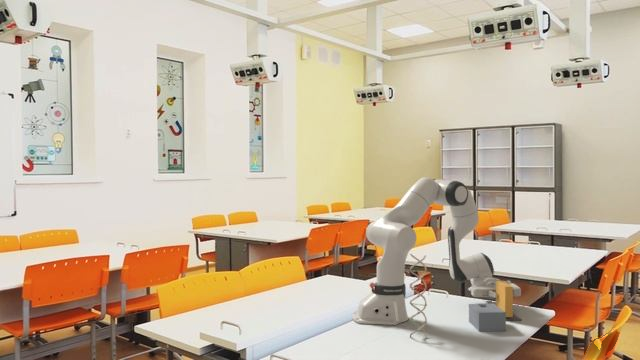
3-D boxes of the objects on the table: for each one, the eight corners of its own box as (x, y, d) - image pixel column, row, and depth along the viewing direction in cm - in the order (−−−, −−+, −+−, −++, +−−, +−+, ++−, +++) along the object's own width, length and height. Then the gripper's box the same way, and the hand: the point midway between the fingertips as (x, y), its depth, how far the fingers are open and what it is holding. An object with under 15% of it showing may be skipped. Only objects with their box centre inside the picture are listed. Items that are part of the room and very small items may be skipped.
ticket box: (479, 331, 192) (479, 312, 192) (468, 321, 204) (468, 303, 204) (505, 330, 192) (505, 312, 192) (493, 320, 205) (493, 303, 204)
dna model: (406, 339, 184) (406, 255, 183) (412, 333, 190) (411, 252, 189) (424, 342, 181) (424, 256, 180) (429, 336, 186) (429, 253, 186)
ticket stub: (505, 316, 204) (505, 286, 204) (495, 309, 214) (495, 280, 214) (512, 316, 204) (512, 286, 204) (502, 309, 214) (503, 280, 214)
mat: (496, 321, 204) (496, 320, 204) (487, 313, 214) (487, 312, 214) (521, 320, 204) (521, 319, 204) (511, 313, 214) (511, 312, 214)
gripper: (466, 280, 225) (476, 288, 211) (512, 280, 225) (526, 287, 211) (466, 295, 225) (476, 303, 211) (512, 294, 225) (526, 303, 212)
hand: (502, 295), depth 211 cm, fingers closed on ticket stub, 3 cm apart
